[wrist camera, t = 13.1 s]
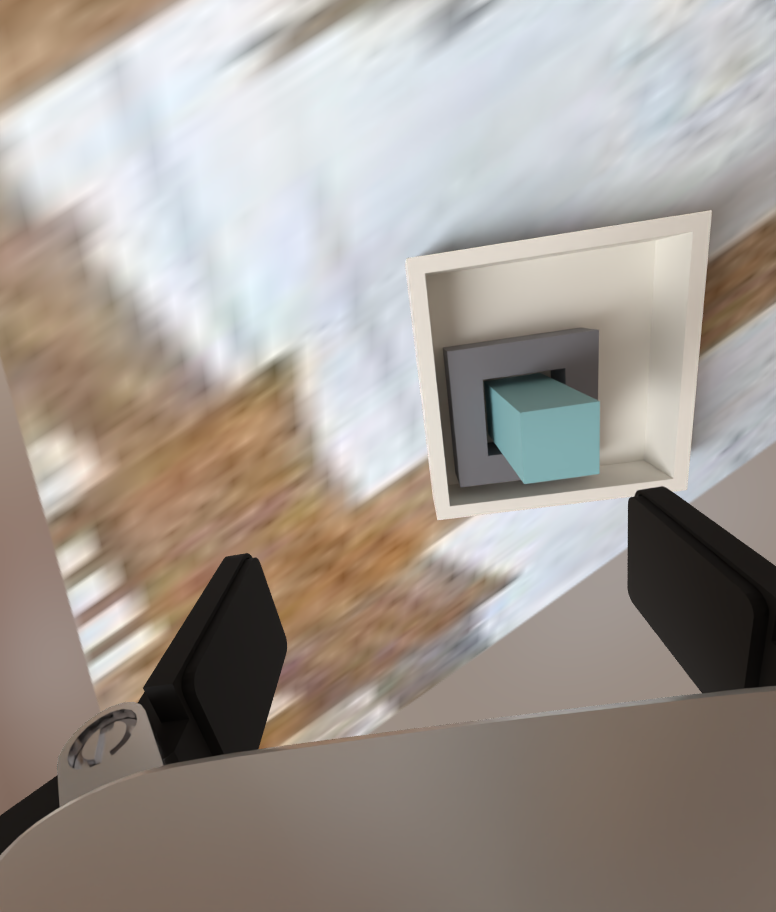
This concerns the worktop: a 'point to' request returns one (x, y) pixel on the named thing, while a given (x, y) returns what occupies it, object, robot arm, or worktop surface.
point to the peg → (543, 427)
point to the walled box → (562, 354)
